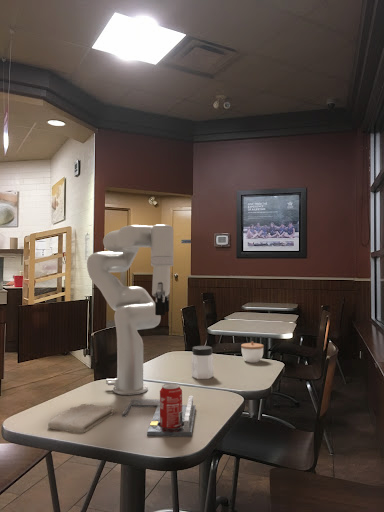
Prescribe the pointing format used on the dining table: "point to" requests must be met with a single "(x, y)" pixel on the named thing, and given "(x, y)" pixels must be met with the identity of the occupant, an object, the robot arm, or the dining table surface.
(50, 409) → the dining table surface
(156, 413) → the rack
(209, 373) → the jar
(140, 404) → the grey flat l-shaped piece
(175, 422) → the beverage can
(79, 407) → the washcloth
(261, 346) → the lidded jar
